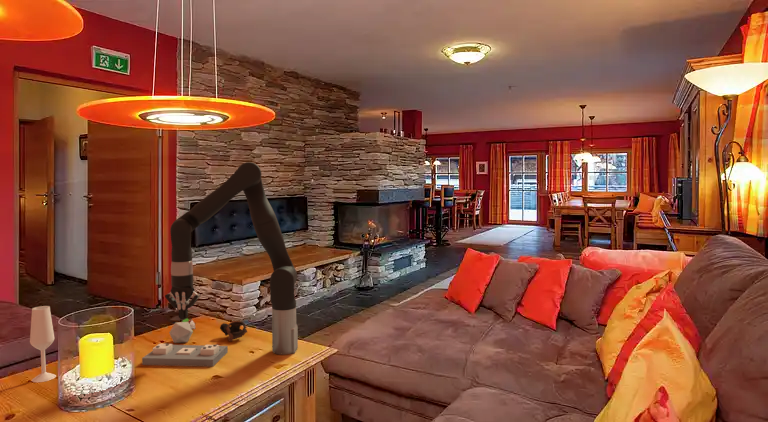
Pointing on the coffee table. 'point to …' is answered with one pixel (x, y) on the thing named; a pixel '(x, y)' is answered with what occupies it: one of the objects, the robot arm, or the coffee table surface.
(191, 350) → the one pip tile
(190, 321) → the geometric puzzle
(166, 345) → the two pip tile
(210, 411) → the coffee table surface
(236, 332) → the pottery mug
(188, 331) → the die
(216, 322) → the coffee table surface
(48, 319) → the champagne flute
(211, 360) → the button board
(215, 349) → the three pip tile
